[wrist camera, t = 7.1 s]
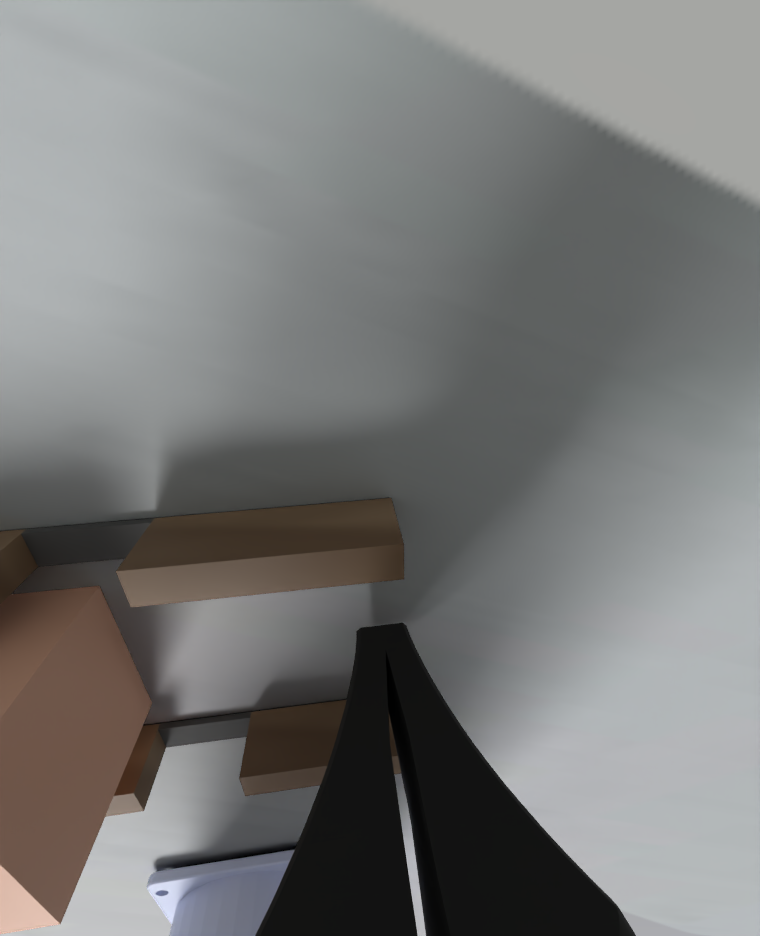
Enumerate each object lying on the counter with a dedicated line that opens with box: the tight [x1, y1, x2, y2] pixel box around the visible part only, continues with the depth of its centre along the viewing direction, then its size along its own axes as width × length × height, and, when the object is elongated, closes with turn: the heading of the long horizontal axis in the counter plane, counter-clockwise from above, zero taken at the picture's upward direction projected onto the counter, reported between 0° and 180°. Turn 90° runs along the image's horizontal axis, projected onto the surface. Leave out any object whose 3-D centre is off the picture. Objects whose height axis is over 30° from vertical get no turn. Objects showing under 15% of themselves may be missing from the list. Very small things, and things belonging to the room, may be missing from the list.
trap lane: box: [0, 498, 404, 817], centre depth 10 cm, size 9×14×3 cm, turn 92°
